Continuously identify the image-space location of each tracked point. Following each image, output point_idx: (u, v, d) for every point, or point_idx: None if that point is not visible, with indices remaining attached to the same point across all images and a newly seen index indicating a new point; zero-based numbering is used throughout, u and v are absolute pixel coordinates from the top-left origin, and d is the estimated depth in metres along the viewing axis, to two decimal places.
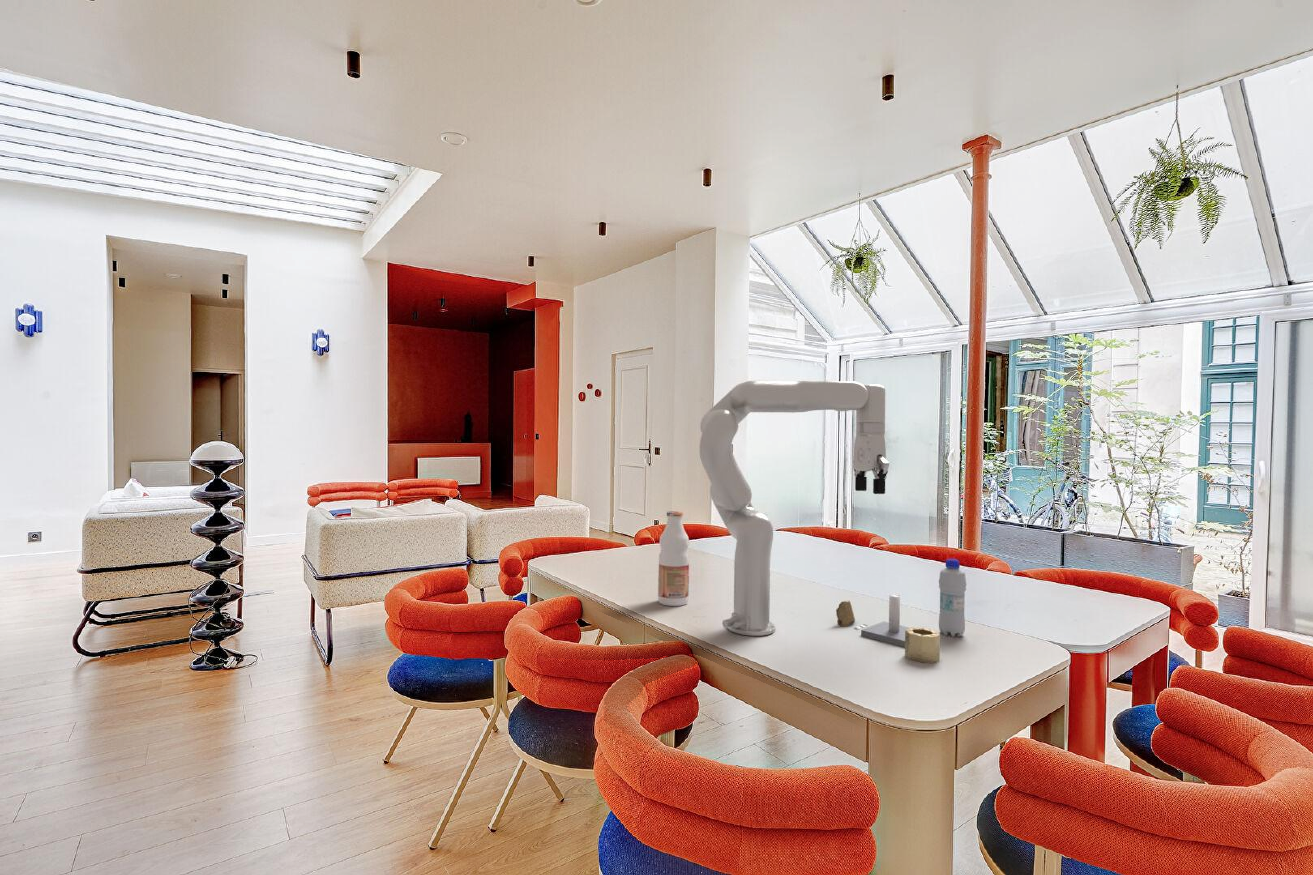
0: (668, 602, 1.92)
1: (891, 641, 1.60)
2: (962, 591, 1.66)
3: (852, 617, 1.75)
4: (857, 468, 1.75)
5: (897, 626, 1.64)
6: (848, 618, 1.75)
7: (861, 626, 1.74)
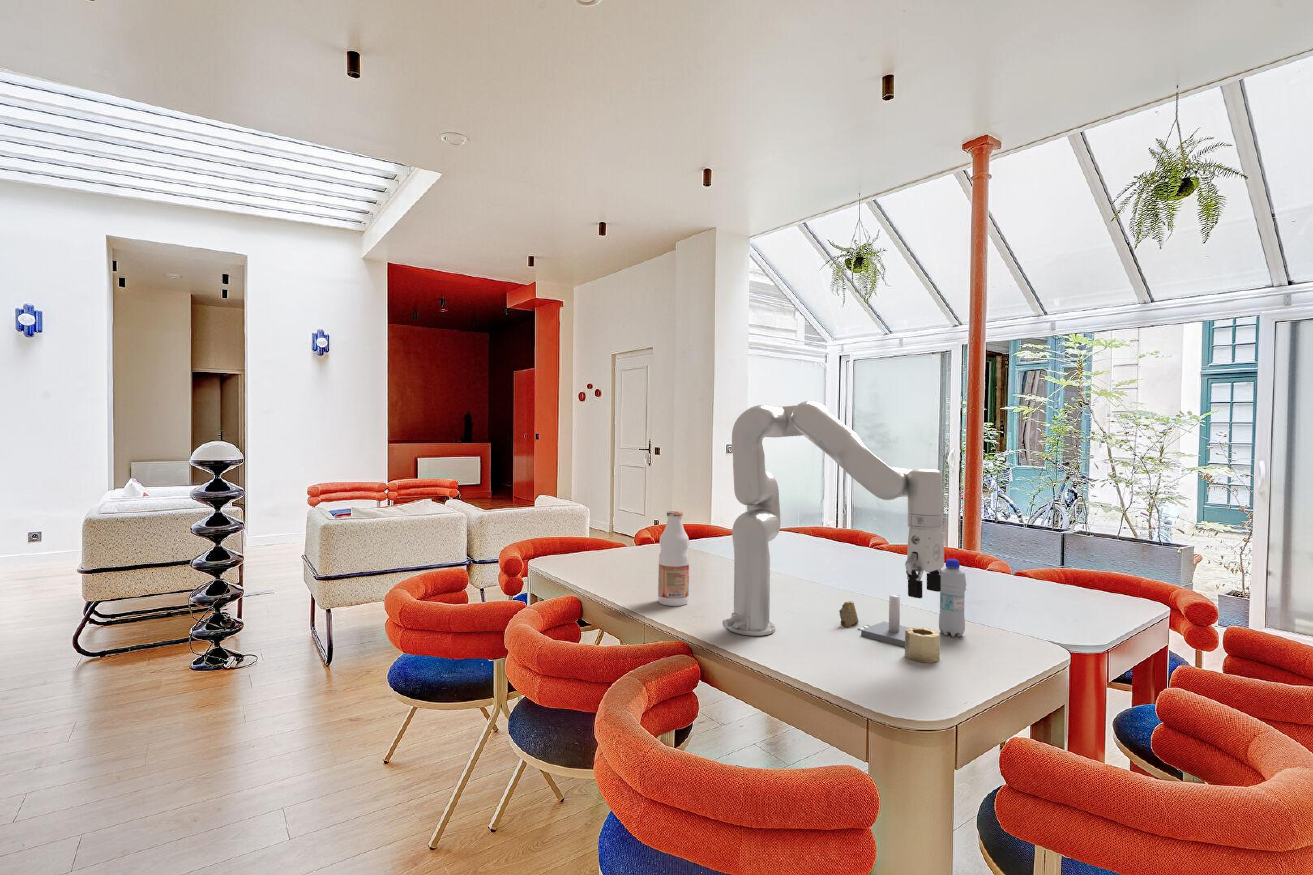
0: (668, 602, 1.92)
1: (891, 641, 1.60)
2: (962, 591, 1.66)
3: (856, 618, 1.74)
4: (933, 569, 1.47)
5: (897, 626, 1.64)
6: (852, 619, 1.74)
7: (864, 627, 1.73)
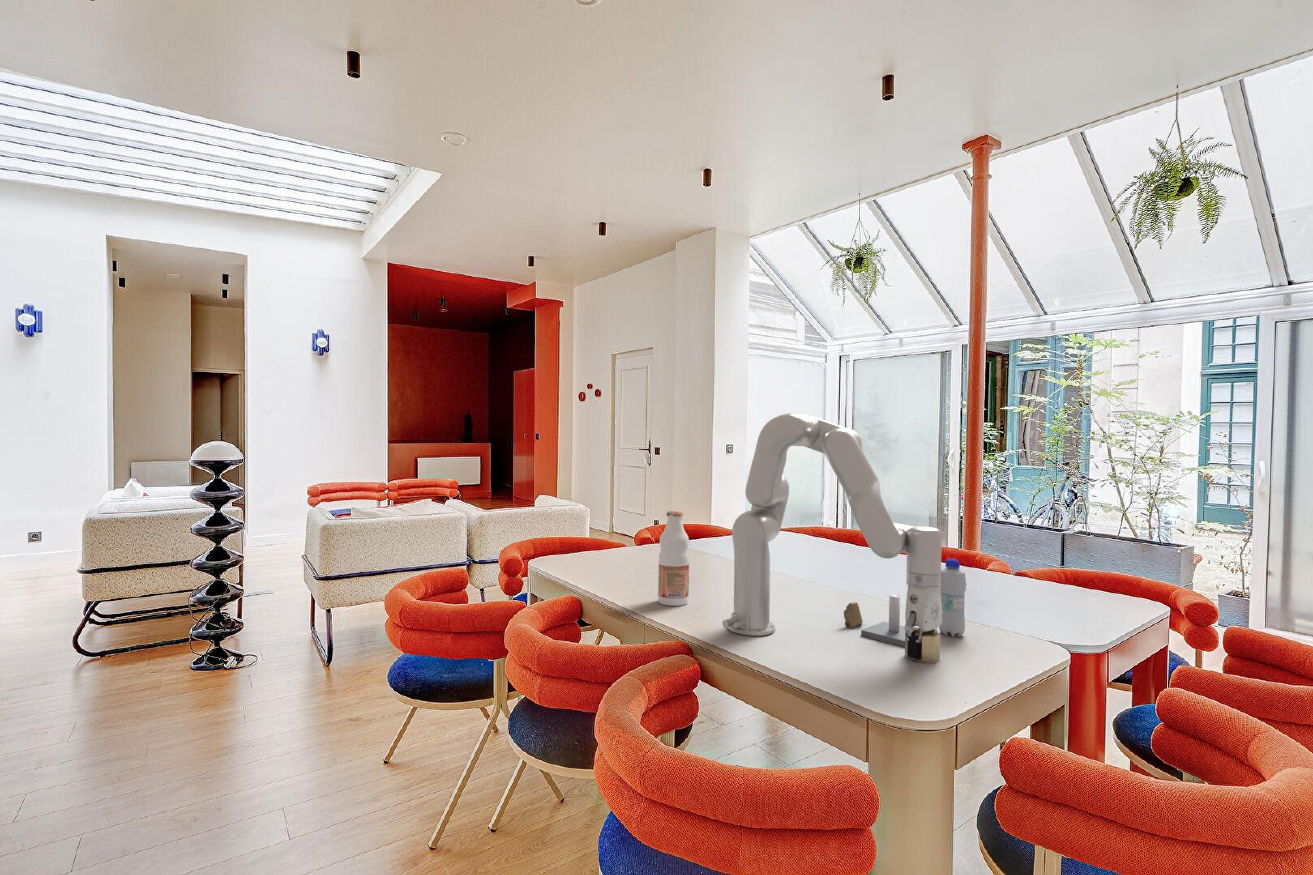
0: (668, 602, 1.92)
1: (891, 641, 1.60)
2: (962, 591, 1.66)
3: (860, 619, 1.73)
4: (931, 628, 1.47)
5: (897, 626, 1.64)
6: (856, 620, 1.73)
7: None
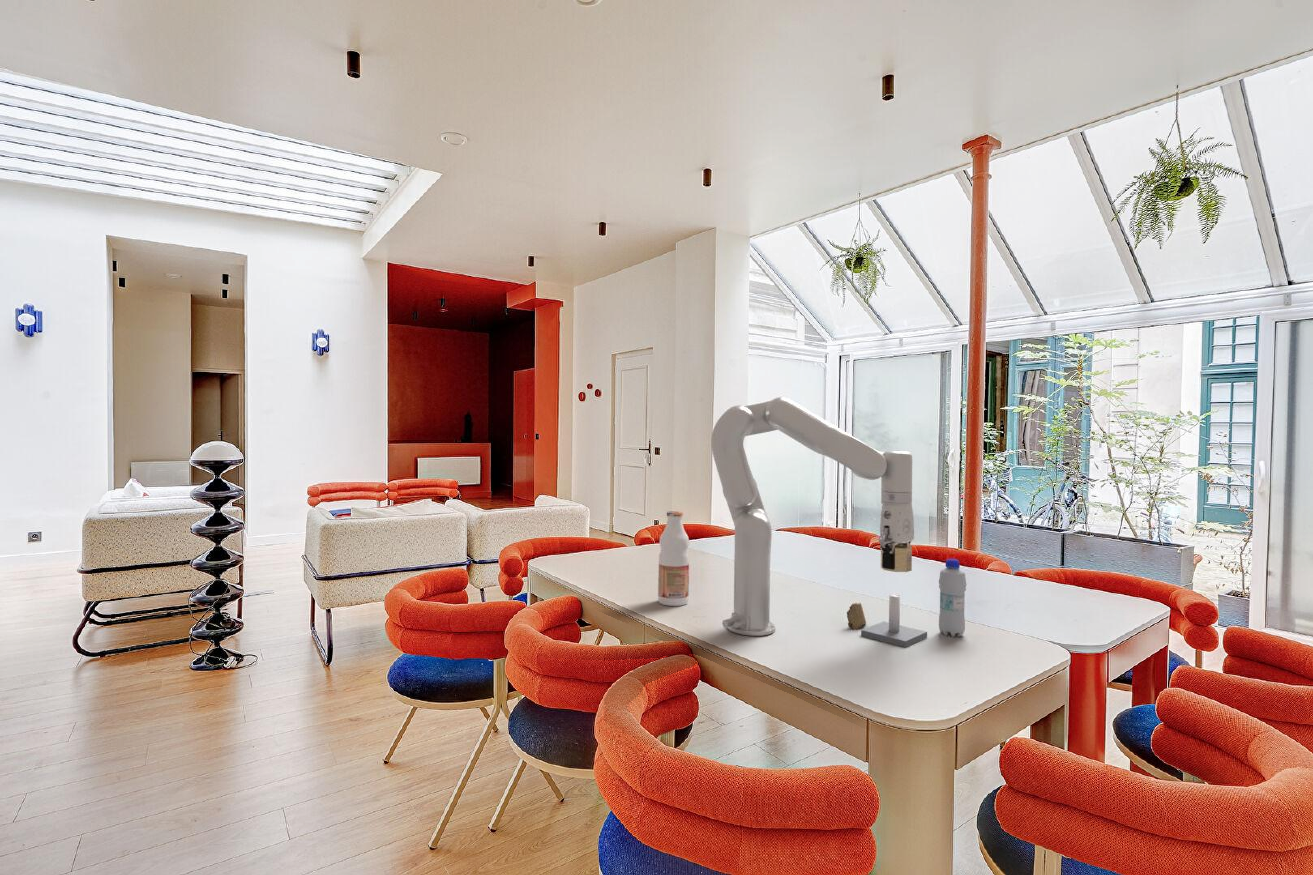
0: (668, 602, 1.92)
1: (891, 641, 1.60)
2: (962, 591, 1.66)
3: (863, 620, 1.73)
4: (903, 541, 1.62)
5: (897, 626, 1.64)
6: (859, 621, 1.72)
7: None
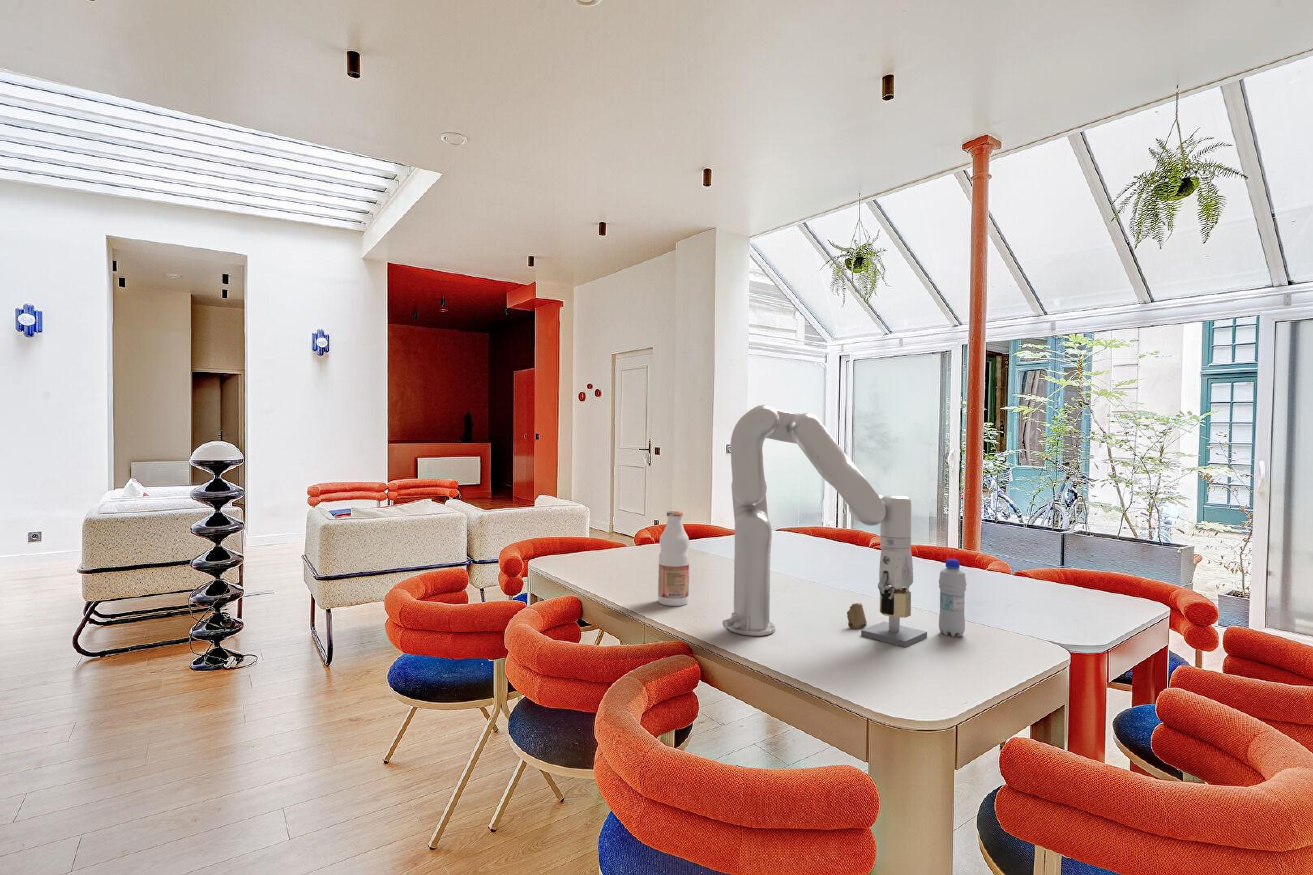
0: (668, 602, 1.92)
1: (891, 641, 1.60)
2: (962, 591, 1.66)
3: (863, 620, 1.73)
4: (902, 586, 1.62)
5: (897, 626, 1.64)
6: (859, 621, 1.72)
7: None
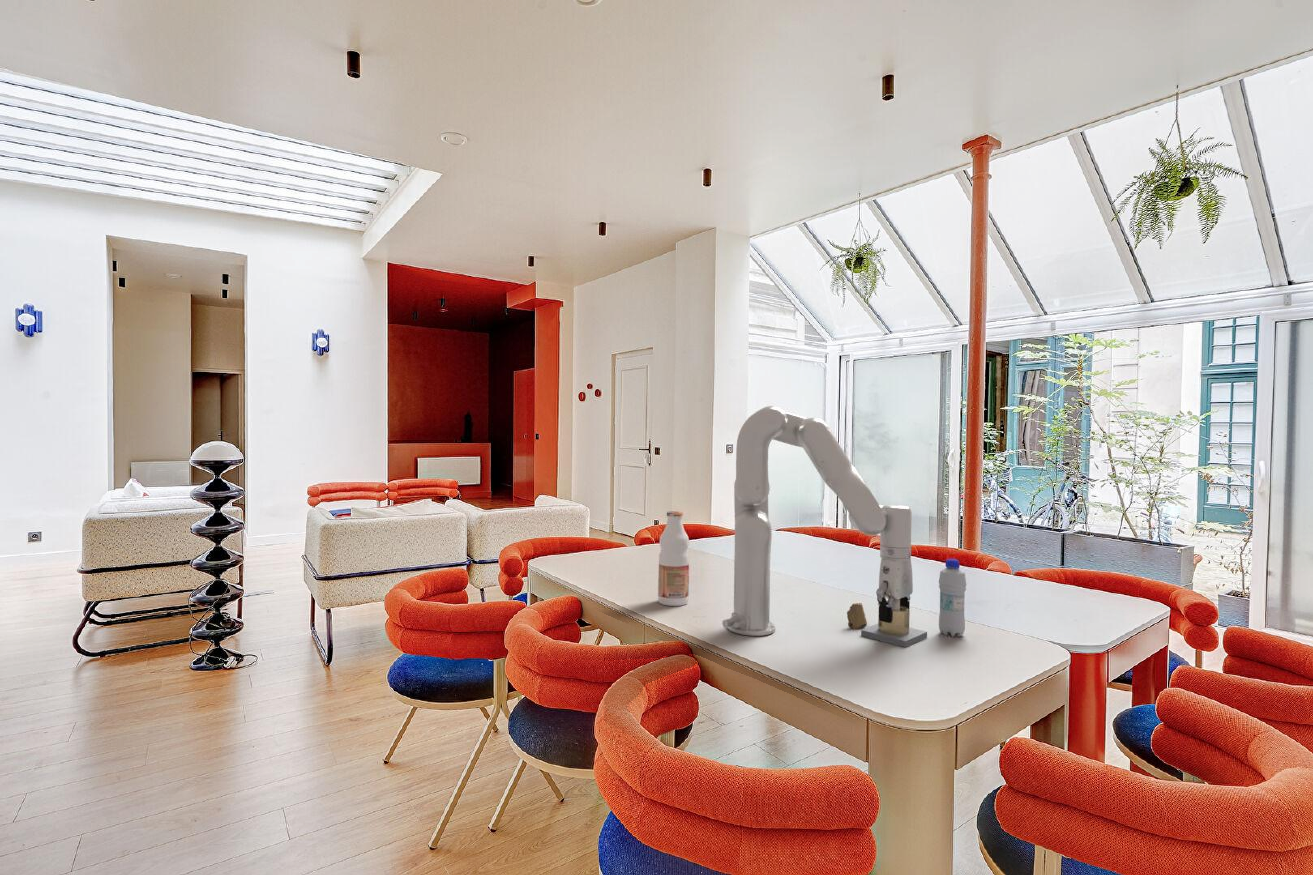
0: (668, 602, 1.92)
1: (891, 641, 1.60)
2: (962, 591, 1.66)
3: (863, 620, 1.73)
4: (901, 596, 1.62)
5: None
6: (859, 621, 1.72)
7: None
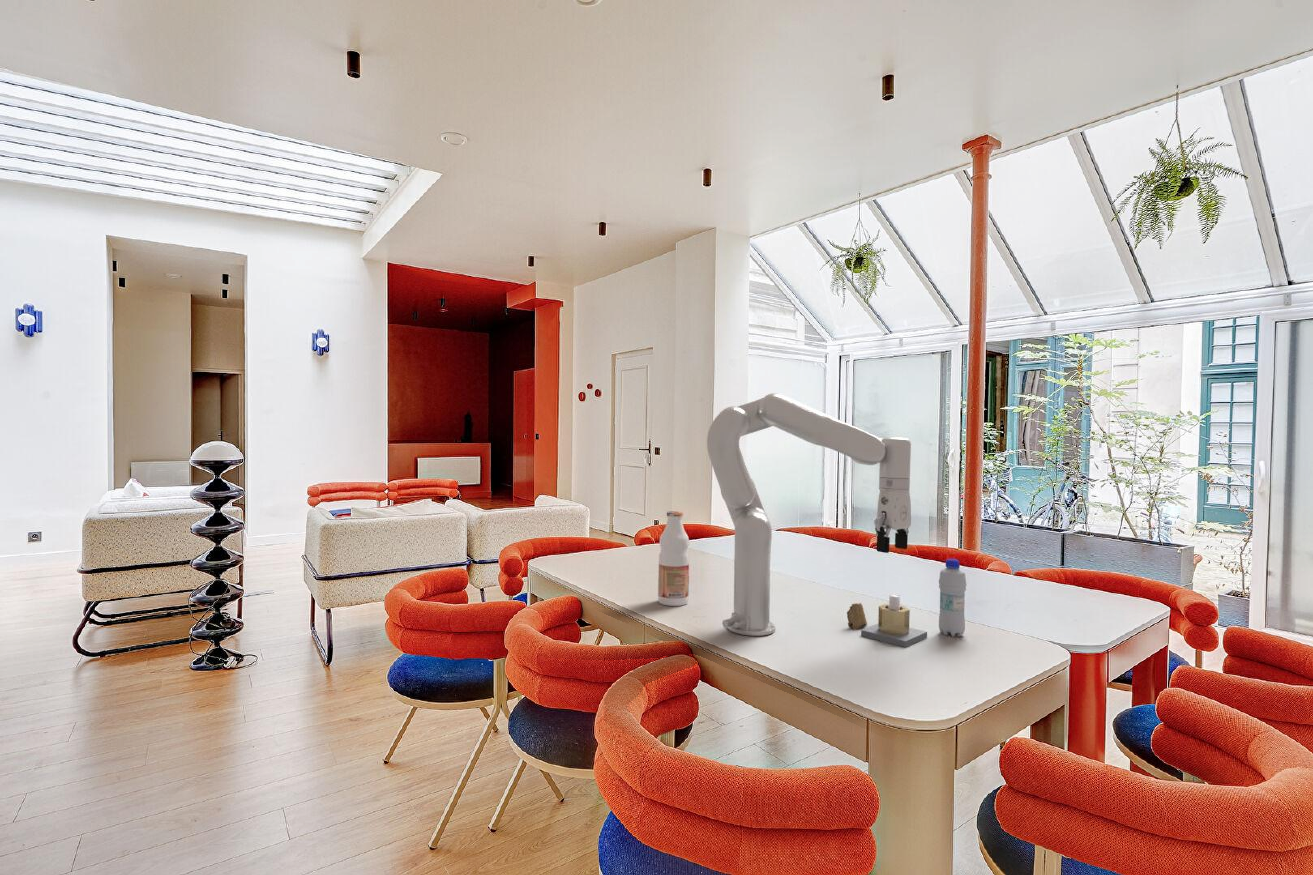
0: (668, 602, 1.92)
1: (891, 641, 1.60)
2: (962, 591, 1.66)
3: (863, 620, 1.73)
4: (899, 527, 1.62)
5: None
6: (859, 621, 1.72)
7: None
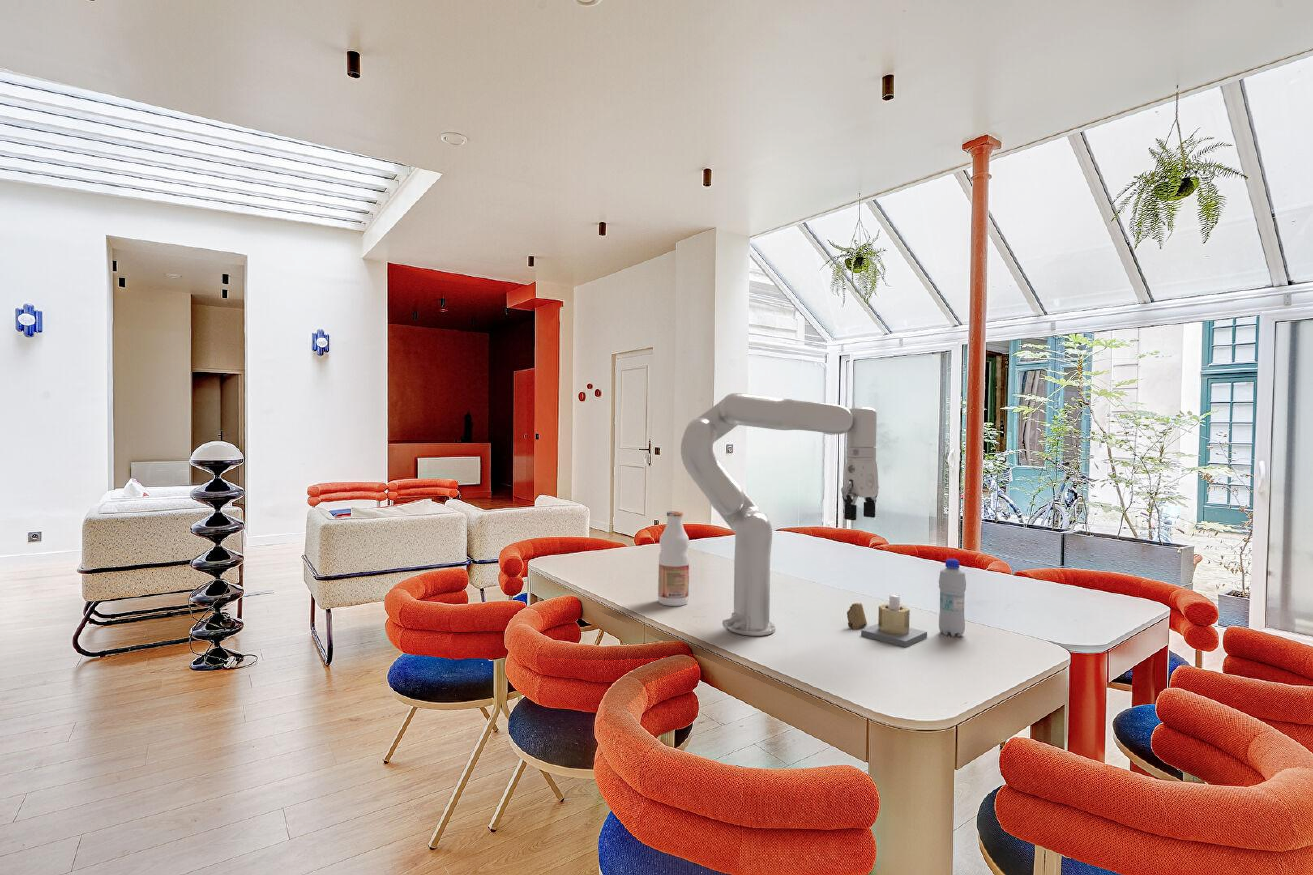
0: (668, 602, 1.92)
1: (891, 641, 1.60)
2: (962, 591, 1.66)
3: (863, 620, 1.73)
4: (866, 495, 1.65)
5: None
6: (859, 621, 1.72)
7: None
